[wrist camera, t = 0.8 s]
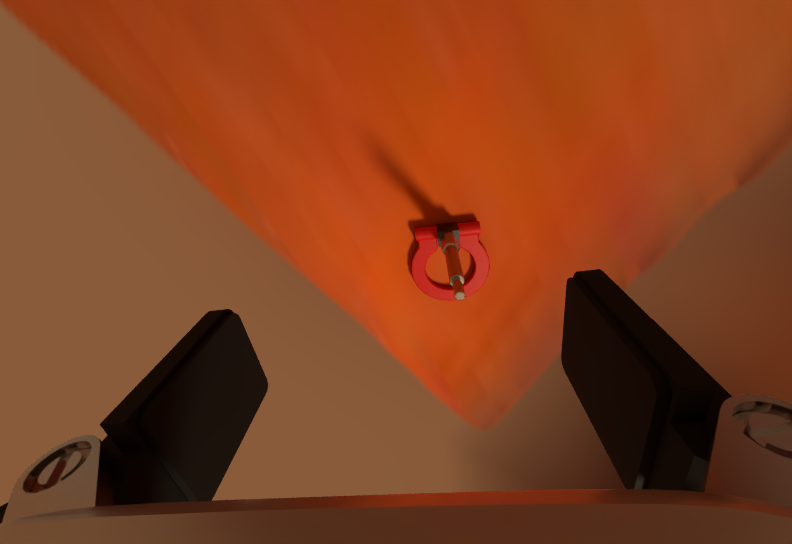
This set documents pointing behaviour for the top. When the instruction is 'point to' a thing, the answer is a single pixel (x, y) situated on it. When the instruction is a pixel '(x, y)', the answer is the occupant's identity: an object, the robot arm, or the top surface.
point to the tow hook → (450, 259)
